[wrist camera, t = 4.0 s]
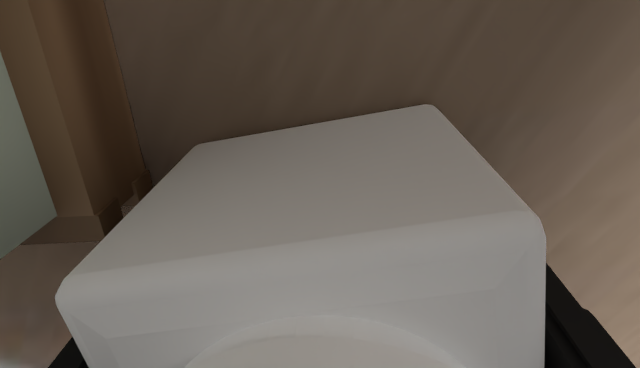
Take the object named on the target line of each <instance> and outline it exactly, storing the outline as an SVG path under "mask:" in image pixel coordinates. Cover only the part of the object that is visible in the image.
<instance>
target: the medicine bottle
mask: <svg viewBox="0 0 640 368" xmlns="http://www.w3.org/2000/svg"><path fill="white" fill-rule="evenodd" d="M545 292H546V235H545V232H544V229H543V226H542V223H541V220H540V218H539V217H538V216H537V215H536V214H535V213H534V212H533V211H532V210H531V209H530V207H529V206H528V205H527V204H526V203H525V202H524V201H523V200H522V199H521V198H520V197H519V196H518V195H517V193H516V192H515V191H514V190H513V189H512V188H511V187H510V186H509V185H508V184H507V183H506V182H505V181H504V179H503V178H502V177H501V176H500V175H499V174H498V173H497V172H496V171H495V170H494V169H493V168H492V167H491V166H490V164H489V163H488V162H487V161H486V160H485V159H484V158H483V157H482V156H481V155H480V154H479V153H478V152H477V150H476V149H475V148H474V147H473V146H472V145H471V144H470V143H469V142H468V141H467V140H466V139H465V138H464V136H463V135H462V134H461V133H460V132H459V131H458V130H457V129H456V128H455V127H454V126H453V125H452V124H451V122H450V121H449V120H448V119H447V118H446V117H445V116H444V115H443V114H442V113H441V112H440V111H439V110H438V109H437V108H436V107H435V106H433V105H428V104H424V105H418V106H412V107H407V108H401V109H395V110H390V111H384V112H378V113H373V114H367V115H361V116H356V117H350V118H344V119H339V120H333V121H327V122H321V123H316V124H310V125H304V126H299V127H293V128H287V129H282V130H276V131H270V132H265V133H259V134H253V135H248V136H242V137H236V138H230V139H225V140H219V141H213V142H208V143H202V144H198V145H196V146H194V147H193V148H192V149H191V150H190V151H189V152H188V153H187V154H186V155H185V156H184V157H183V158H182V159H181V160H180V161H179V162H178V163H177V164H176V165H175V166H174V167H173V168H172V169H171V171H170V172H169V173H168V174H167V175H166V176H165V177H164V178H163V179H162V180H161V181H160V182H159V183H158V184H157V185H156V186H155V187H154V188H153V189H152V190H151V191H150V192H149V193H148V194H147V195H146V196H145V197H144V198H143V199H142V200H141V201H140V202H139V203H138V204H137V205H136V206H135V207H134V208H133V209H132V210H131V211H130V212H129V213H128V214H127V215H126V216H125V217H124V218H123V219H122V220H121V221H120V222H119V223H118V224H117V225H116V226H115V227H114V228H113V229H112V231H111V232H110V233H109V234H108V235H107V236H106V237H105V238H104V239H103V240H102V241H101V242H100V243H99V244H98V245H97V246H96V247H95V248H94V249H93V250H92V251H91V252H90V253H89V254H88V255H87V256H86V257H85V258H84V259H83V260H82V261H81V262H80V263H79V264H78V265H77V266H76V267H75V268H74V269H73V270H72V271H71V272H70V273H69V274H68V275H67V276H66V277H65V278H64V279H63V281H62V283H61V285H60V287H59V289H58V291H57V293H56V295H55V301H56V306H57V308H58V310H59V312H60V314H61V315H62V317H63V319H64V321H65V323H66V325H67V327H68V329H69V331H70V333H71V335H72V336H73V338H74V340H75V342H76V344H77V346H78V348H79V350H80V352H81V354H82V356H83V358H84V359H85V361H86V363H87V365H88V367H89V368H544V361H545Z"/></svg>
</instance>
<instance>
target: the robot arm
mask: <svg viewBox="0 0 640 368" xmlns="http://www.w3.org/2000/svg"><path fill="white" fill-rule="evenodd" d="M48 368H89V367H88V365H87V363H86V361H85V359H84V358H83V356H82V354H81V352H80V350H79V348H78V346H77V344H76V342H75V340H74V338H73V337H72V338H71V339H70V341H69V342H68V343H67V344H66V346H65V347H64V348H63V349H62V351H61V352H60V353H59V354H58V356H57V357H56V358H55V360H54V361H53V362H52V363H51V365H50V366H49V367H48ZM544 368H636V367H635V366H634V365H633V363H632V362H631V361H630V360H629V358H628V357H627V356H626V355H625V354H624V352H623V351H622V350H621V349H620V347H619V346H618V345H617V344H616V343H615V341H614V340H613V339H612V338H611V336H610V335H609V334H608V333H607V331H606V330H605V329H604V328H603V327H602V325H601V324H600V323H599V322H598V320H597V319H596V318H595V317H594V316H593V315H592V314H591V313H590V312H589V311H588V310H586V309H584V308H582V307H581V306H580V305H579V303H578V302H577V301H576V300H575V298H574V297H573V296H572V295H571V293H570V292H569V291H568V290H567V288H566V287H565V286H564V285H563V283H562V282H561V281H560V280H559V278H558V277H557V276H556V274H555V273H554V272H553V271H552V269H551V268H550V267H549V266H548V264H547V263H546V292H545V361H544Z"/></svg>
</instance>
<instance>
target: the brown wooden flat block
mask: <svg viewBox="0 0 640 368" xmlns="http://www.w3.org/2000/svg"><path fill="white" fill-rule="evenodd" d="M0 52H1V55H2V58H3V61H4V63H5V66H6V69H7V72H8V75H9V78H10V81H11V84H12V86H13V89H14V92H15V95H16V98H17V101H18V104H19V107H20V109H21V112H22V115H23V118H24V121H25V124H26V127H27V130H28V132H29V135H30V138H31V141H32V144H33V147H34V150H35V153H36V155H37V158H38V161H39V164H40V167H41V170H42V173H43V176H44V178H45V181H46V184H47V187H48V190H49V193H50V196H51V199H52V201H53V204H54V207H55V210H56V213H57V216H56V217H55V218H54V219H52V220H51V221H50V222H48V223H47V224H46V225H44V226H43V227H42V228H40V229H39V230H38V231H37V232H35V233H34V234H33V235H31V236H30V237H29V238H27V239H26V240H25V241H24V242H22V243H21V244H20V245H26V244H47V243H69V242H90V241H102V240H103V239H104V238H105V237H106V236H107V235H108V234H109V233H110V232H111V231H112V229H113V228H114V227H115V226H116V225H117V224H118V223H119V222H120V221H121V220H122V219H123V215H122V211H121V208H120V207H121V206H135V205H137V204H138V203H139V202H140V201H141V200H142V199H143V198H144V197H145V196H146V195H147V194H148V193H149V192H150V191H151V190H152V189H153V186H152V182H151V178H150V174H149V170H145V166H144V162H143V158H142V154H141V150H140V146H139V142H138V138H137V134H136V130H135V126H134V122H133V118H132V114H131V110H130V106H129V102H128V98H127V94H126V90H125V86H124V82H123V77H122V73H121V69H120V65H119V61H118V57H117V53H116V49H115V45H114V41H113V37H112V33H111V29H110V25H109V21H108V17H107V13H106V9H105V5H104V1H103V0H0Z"/></svg>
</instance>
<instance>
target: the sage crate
mask: <svg viewBox="0 0 640 368" xmlns="http://www.w3.org/2000/svg"><path fill="white" fill-rule="evenodd" d="M56 216H57V213H56V210H55V207H54V204H53V201H52V199H51V196H50V193H49V190H48V187H47V184H46V181H45V178H44V176H43V173H42V170H41V167H40V164H39V161H38V158H37V155H36V153H35V150H34V147H33V144H32V141H31V138H30V135H29V132H28V130H27V127H26V124H25V121H24V118H23V115H22V112H21V109H20V107H19V104H18V101H17V98H16V95H15V92H14V89H13V86H12V84H11V81H10V78H9V75H8V72H7V69H6V66H5V63H4V61H3V58H2V55H1V52H0V259H1V258H3V257H4V256H5V255H7V254H8V253H9V252H10V251H12V250H13V249H14V248H16V247H17V246H18V245H20V244H21V243H22V242H24V241H25V240H26V239H27V238H29V237H30V236H31V235H33V234H34V233H35V232H37V231H38V230H39V229H40V228H42V227H43V226H44V225H46V224H47V223H48V222H50V221H51V220H52V219H54V218H55V217H56Z"/></svg>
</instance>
